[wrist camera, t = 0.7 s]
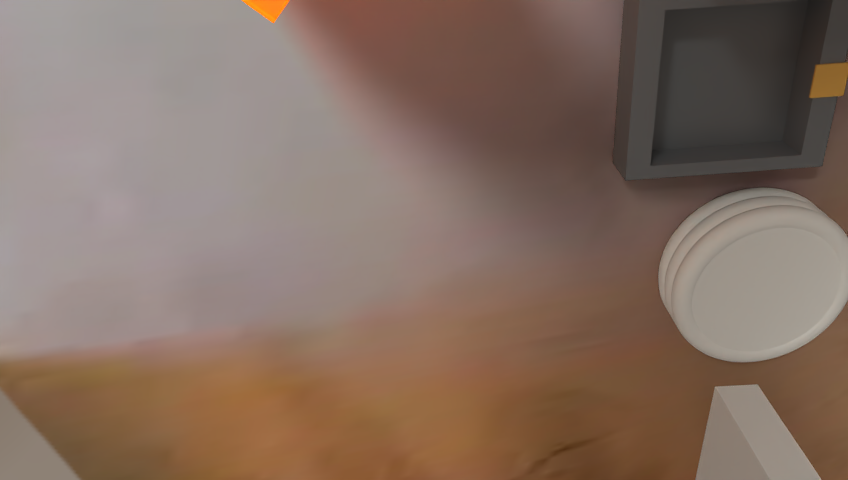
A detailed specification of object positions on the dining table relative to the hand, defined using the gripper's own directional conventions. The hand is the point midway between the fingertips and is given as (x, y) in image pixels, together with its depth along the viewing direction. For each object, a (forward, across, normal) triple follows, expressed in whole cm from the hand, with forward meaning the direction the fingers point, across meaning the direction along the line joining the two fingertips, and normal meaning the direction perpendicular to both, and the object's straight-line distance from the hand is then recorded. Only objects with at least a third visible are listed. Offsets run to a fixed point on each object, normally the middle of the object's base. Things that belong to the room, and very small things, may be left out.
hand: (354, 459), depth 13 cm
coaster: (+26, +20, -12) cm, 35 cm away
